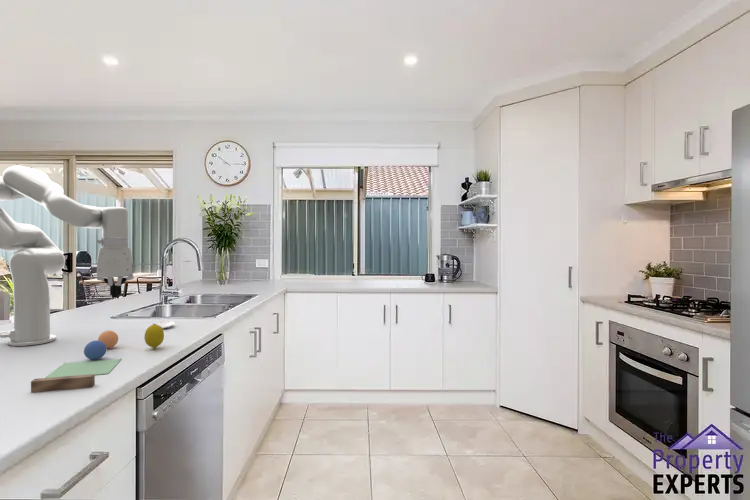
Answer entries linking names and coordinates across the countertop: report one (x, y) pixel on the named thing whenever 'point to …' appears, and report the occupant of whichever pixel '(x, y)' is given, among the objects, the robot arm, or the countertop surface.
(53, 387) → the rail
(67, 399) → the countertop surface
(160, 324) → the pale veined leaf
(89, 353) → the navy ball
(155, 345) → the lemon
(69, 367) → the green mark
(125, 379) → the countertop surface
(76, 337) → the countertop surface
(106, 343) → the orange ball
